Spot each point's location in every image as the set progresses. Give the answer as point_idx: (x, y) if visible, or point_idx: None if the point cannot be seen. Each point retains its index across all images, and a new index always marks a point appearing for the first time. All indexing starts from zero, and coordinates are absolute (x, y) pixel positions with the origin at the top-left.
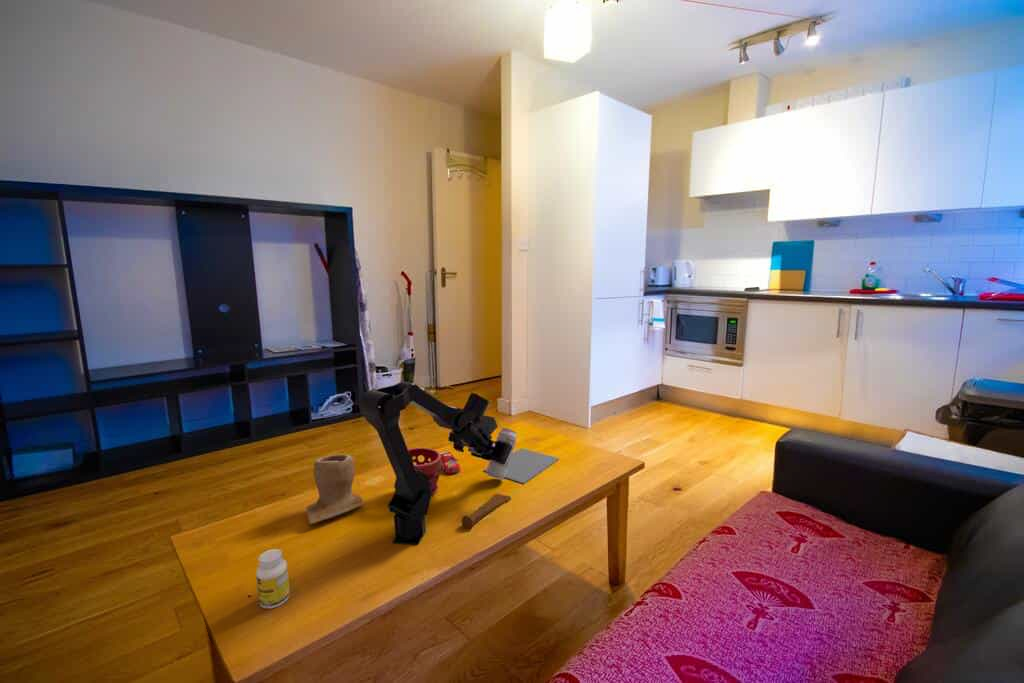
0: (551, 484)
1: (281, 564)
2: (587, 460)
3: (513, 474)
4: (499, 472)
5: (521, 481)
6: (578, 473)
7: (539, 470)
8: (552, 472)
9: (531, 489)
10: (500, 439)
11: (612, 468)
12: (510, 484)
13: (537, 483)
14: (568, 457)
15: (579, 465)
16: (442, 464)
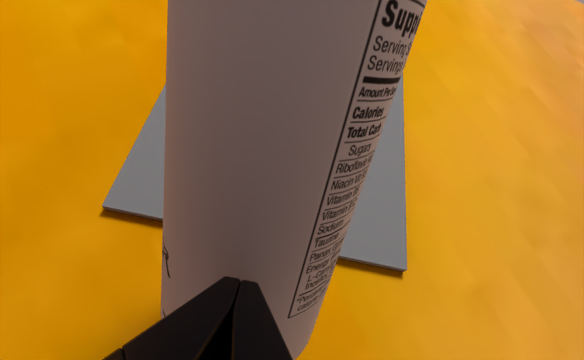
0: (510, 220)
1: None
2: (481, 17)
3: None
4: (299, 346)
5: (385, 258)
6: (523, 101)
7: (395, 124)
8: (441, 119)
9: (471, 313)
10: (273, 33)
11: (576, 47)
12: (339, 307)
13: (453, 235)
14: None
15: (485, 50)
16: None
